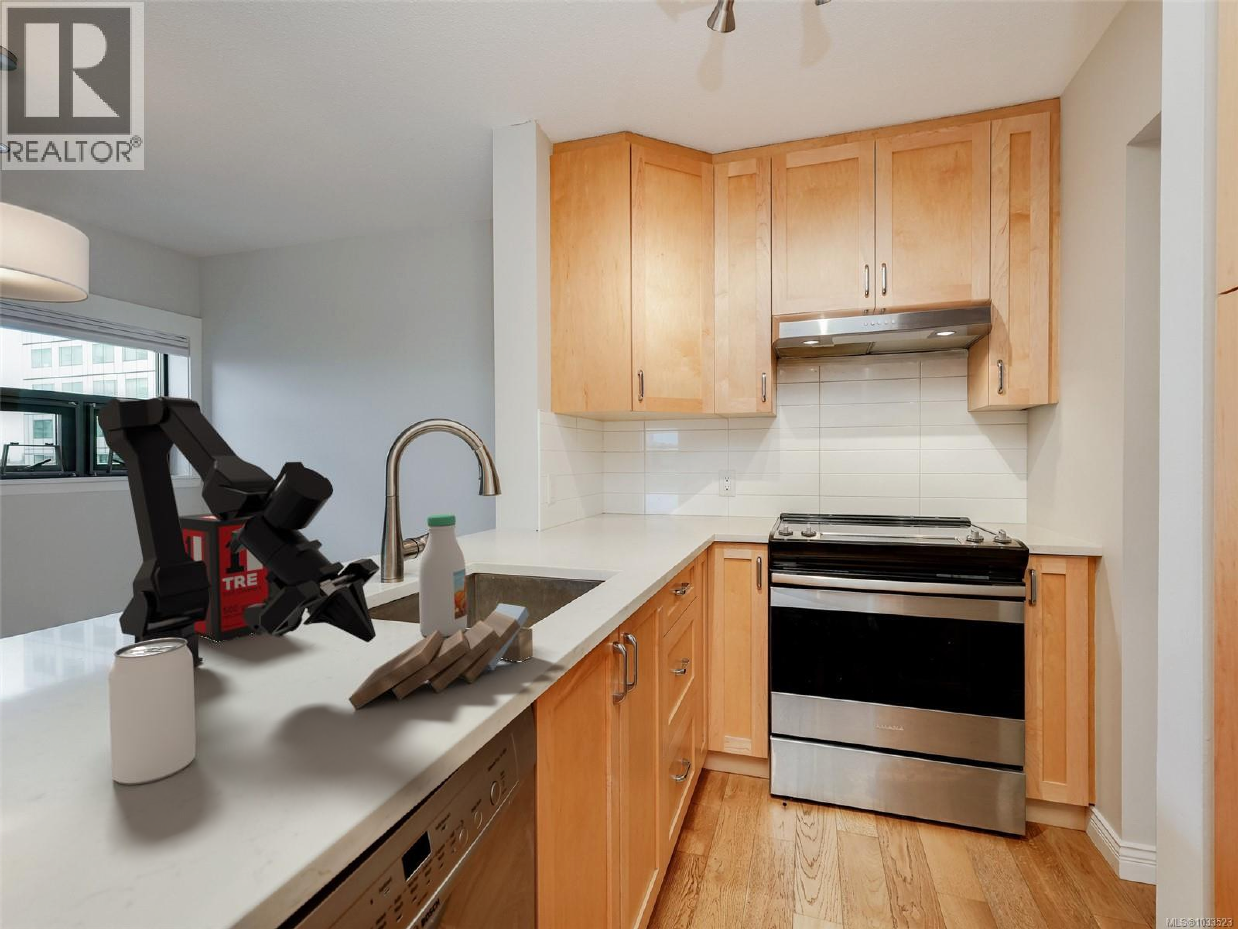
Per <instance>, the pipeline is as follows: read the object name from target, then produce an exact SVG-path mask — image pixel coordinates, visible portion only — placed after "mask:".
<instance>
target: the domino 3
mask: <svg viewBox="0 0 1238 929" xmlns="http://www.w3.org/2000/svg"><path fill="white" fill-rule="evenodd" d="M464 634H465V636H466V637H467V639H468V644H469V651H468V652H466V653H465V654H464V655H462V656H461V657H459V658H458V659H457V660H455V661H454V662H452V663H451V664H449V665H448V666H447V667H445V668H444V669H442V670H441V671H440V672H438V673H437V674H435V675H434V676H433V677H431V678H430V679H428V680H427V682H428V683H429V684H430V685H431V686H432V687H433V689H434V690H435V691H436V692H437V693H440V692H441V691H442V690H443V689H445V688H446V687H447V686H448V685H449V684H450V683H451V682H453V681H454V680H455V679H456V678H457V677H458V675H459V674H460V673H462V672H463V671H464V670H465V669H466V668H467V667H468V666H469V665H471V664H472V663H473V662H474V661H475V660H476V659H477V658H479V657H480V656H481V655H482V654H483V653H484V652H485V651H486V650H488V649H489V648H490V647H491V646H492V645H493V644H494V643H495V642H497V641H498V640H499V639H500V638H499V636H498V635H497V633H496V632H495V631H494V629H492V628H491V627H489V626H488V625H486V624H485V623H484V621H482V620H481V619H480V620H478V621H477V623H475V624H474V625H473V626H472V627H471V628H469V629H468V630H467V631H465V633H464Z"/></svg>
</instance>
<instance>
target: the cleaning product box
mask: <svg viewBox="0 0 1238 929" xmlns="http://www.w3.org/2000/svg"><path fill="white" fill-rule="evenodd" d="M179 519H180V524H181V529H182V534H183V540H184V545H185V549H186V552H187V554H188V555H190V556H191V557H192V558H193V559H194V560H195V561H199V560H202V561H203V562H204V563H205V564H206V569H207V577H208V580H209V583H210V585H211V587H210V589H211V597H210V601H209V606H208V611H207V615H206V620H205V621H202V622H200V621H199V622H195V634H198V635H200V636H203V637H207V638H209V639H211V640H215V641H217V642H219V641H223V640H227V641H230V639H231V640H234V639H233V638H235V639H237V638H236V637H239V638H243V637H247V636H250V635H249V634H251V633H255V631H254V630H252V629H251V628H250V627H249V626H248V625H247V623H246V622H245V621H244V620H243V618H242V616H243V614H244V611H245V609H246V608H247V607H249V606H252V605H255V604H265V603H264V602H263V599H265V598H268V597H269V595H270V593H271V591H272V589H271V587H270V586H269V585H268V584H267V583H266V581H267V580H266V579H265V577H266V576H267V575H268V574H269V573H270V572H269V571H268V570H267V569H266V568H265V567H264V566H263V565H262V564H261V563H260V562H259V561H258V560H257V559H256V558H255V557H254V556H253V555H252V554H251V553H250V552H249V551H248V550H247V549H245V550H242V551H240V552H237V553H235V554H232V553H231V552H230V543H231V532H233V531H236V530H239V529H241V528H242V527H243V525H244V524H245V523H246V521H247V520H248V519H242V520H233V521H219V520H218V519H217V518H215V517H214V516H213V514H212V513H210V512H209V513H201V514H190V515H189V514H188V515H179ZM246 635H247V636H246ZM251 635H252V634H251ZM242 636H243V637H242ZM211 640H210V641H211ZM217 642H216V643H217ZM223 642H224V641H223ZM219 643H220V642H219Z"/></svg>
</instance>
